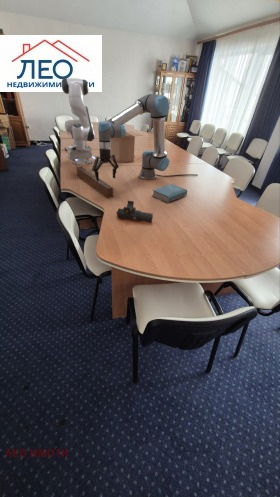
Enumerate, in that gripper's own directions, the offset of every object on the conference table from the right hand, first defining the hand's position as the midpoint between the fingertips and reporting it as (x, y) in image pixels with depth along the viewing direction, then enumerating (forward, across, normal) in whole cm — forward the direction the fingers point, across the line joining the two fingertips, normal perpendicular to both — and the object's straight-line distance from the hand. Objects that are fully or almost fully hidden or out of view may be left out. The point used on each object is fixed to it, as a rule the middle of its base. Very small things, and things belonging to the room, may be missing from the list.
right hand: (105, 179), depth 161 cm
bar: (+12, 0, -22) cm, 25 cm away
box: (+12, -65, -82) cm, 105 cm away
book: (+12, -42, +25) cm, 51 cm away
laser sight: (+12, +4, +43) cm, 44 cm away
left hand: (+1, 0, -44) cm, 44 cm away
